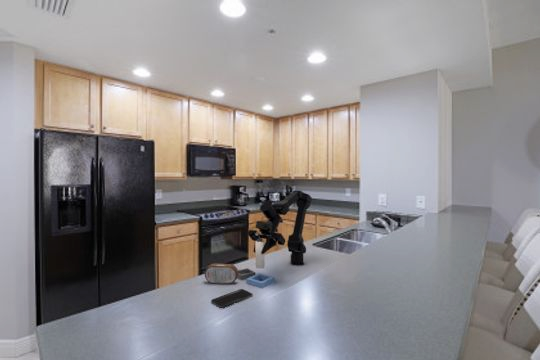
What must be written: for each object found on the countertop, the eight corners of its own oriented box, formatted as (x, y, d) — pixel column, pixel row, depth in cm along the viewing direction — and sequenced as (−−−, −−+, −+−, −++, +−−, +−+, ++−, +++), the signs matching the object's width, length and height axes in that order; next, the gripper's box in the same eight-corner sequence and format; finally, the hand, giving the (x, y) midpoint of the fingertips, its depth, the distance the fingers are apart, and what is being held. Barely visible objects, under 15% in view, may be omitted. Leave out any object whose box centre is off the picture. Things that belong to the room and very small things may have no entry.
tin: (238, 282, 116) (238, 263, 117) (237, 285, 113) (236, 265, 113) (206, 281, 118) (206, 262, 118) (203, 284, 115) (203, 265, 115)
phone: (209, 300, 97) (241, 288, 107) (209, 303, 97) (241, 291, 107) (221, 307, 91) (253, 294, 102) (221, 310, 91) (254, 297, 102)
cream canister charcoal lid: (263, 265, 118) (262, 237, 118) (265, 267, 115) (265, 239, 115) (254, 266, 117) (254, 238, 117) (256, 268, 113) (256, 240, 113)
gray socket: (247, 272, 129) (247, 268, 129) (255, 276, 123) (255, 272, 123) (234, 275, 125) (233, 271, 125) (241, 280, 119) (241, 275, 119)
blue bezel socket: (259, 277, 122) (259, 273, 122) (274, 281, 117) (274, 276, 117) (246, 283, 115) (246, 278, 115) (262, 288, 109) (262, 283, 109)
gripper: (249, 212, 125) (233, 240, 116) (281, 215, 114) (266, 245, 105) (259, 226, 131) (245, 253, 122) (291, 230, 120) (278, 260, 111)
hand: (258, 252), depth 115 cm, fingers closed on cream canister charcoal lid, 4 cm apart
